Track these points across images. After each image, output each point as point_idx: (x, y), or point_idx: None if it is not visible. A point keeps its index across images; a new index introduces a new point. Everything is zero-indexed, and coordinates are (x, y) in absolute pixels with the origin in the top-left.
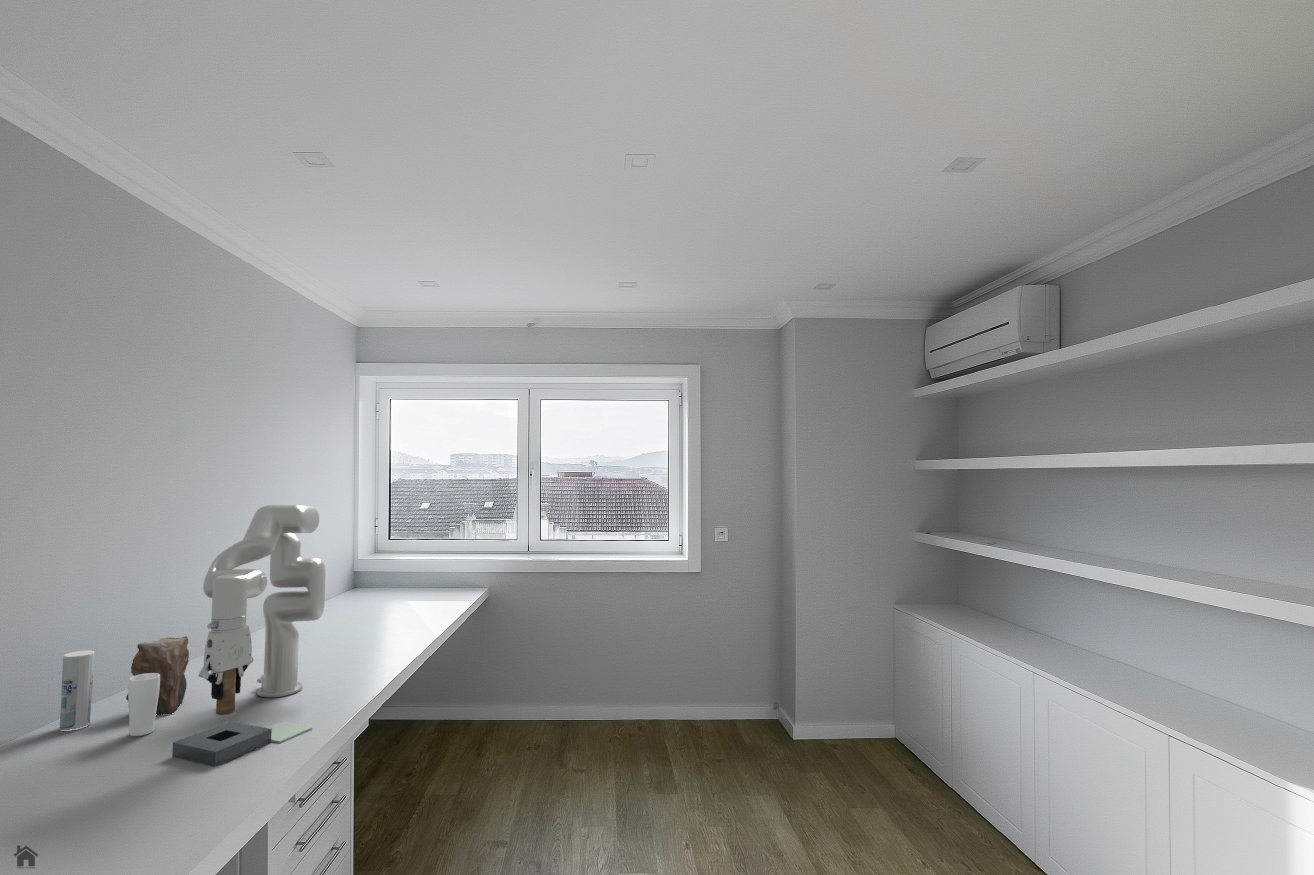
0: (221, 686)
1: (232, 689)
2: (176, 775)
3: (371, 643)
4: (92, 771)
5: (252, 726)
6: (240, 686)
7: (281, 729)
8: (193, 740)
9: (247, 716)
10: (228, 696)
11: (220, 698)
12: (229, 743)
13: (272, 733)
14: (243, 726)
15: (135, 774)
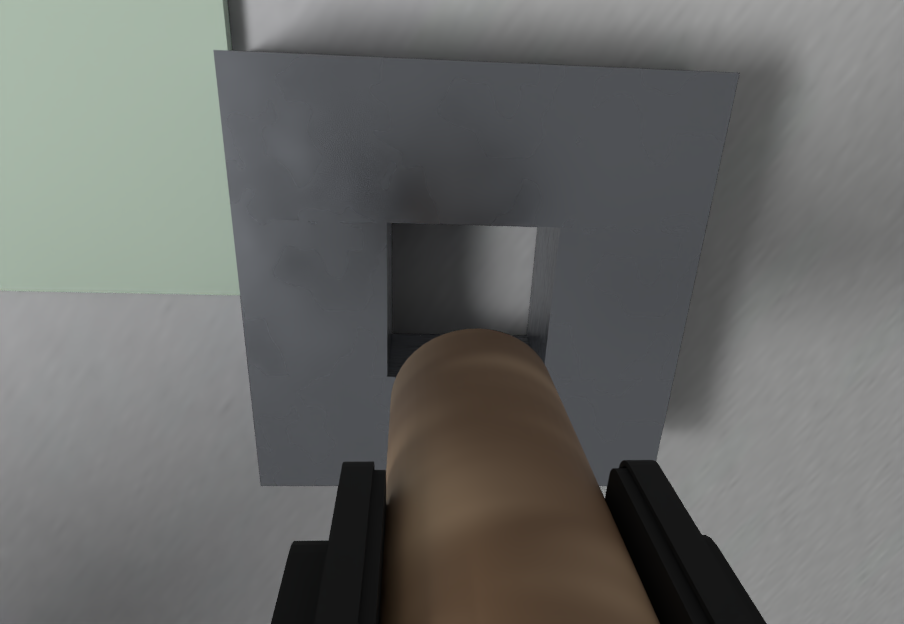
0: (742, 616)
1: (508, 504)
2: (826, 193)
3: None
4: (818, 583)
5: (255, 262)
6: (293, 552)
7: (63, 169)
8: (596, 409)
9: (57, 564)
10: (551, 446)
11: (657, 466)
12: (575, 124)
13: (148, 169)
14: (288, 324)
15: (832, 403)
